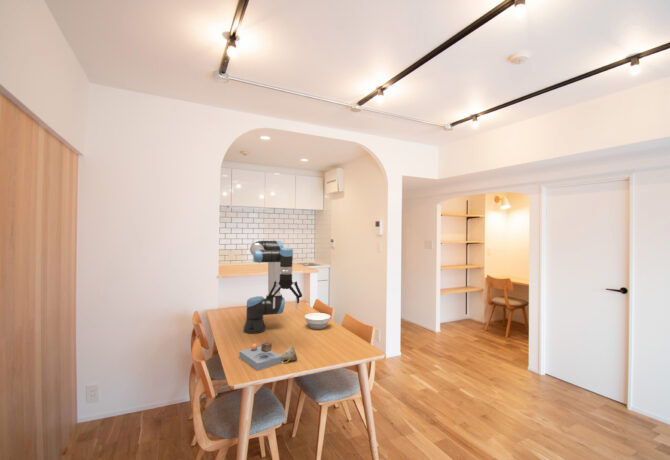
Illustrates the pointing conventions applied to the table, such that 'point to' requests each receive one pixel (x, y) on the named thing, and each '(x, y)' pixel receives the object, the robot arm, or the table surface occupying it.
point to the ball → (253, 346)
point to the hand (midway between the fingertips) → (285, 308)
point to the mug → (288, 355)
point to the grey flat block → (260, 358)
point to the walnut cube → (266, 347)
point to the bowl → (317, 320)
